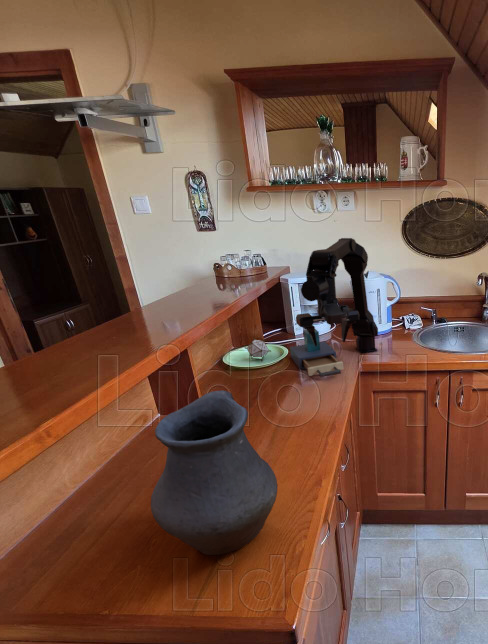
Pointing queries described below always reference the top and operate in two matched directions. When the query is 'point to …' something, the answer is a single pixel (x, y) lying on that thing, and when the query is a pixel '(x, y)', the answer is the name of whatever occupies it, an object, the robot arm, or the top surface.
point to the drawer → (323, 365)
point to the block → (309, 343)
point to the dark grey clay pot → (212, 477)
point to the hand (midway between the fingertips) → (329, 344)
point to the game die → (257, 348)
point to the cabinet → (309, 353)
